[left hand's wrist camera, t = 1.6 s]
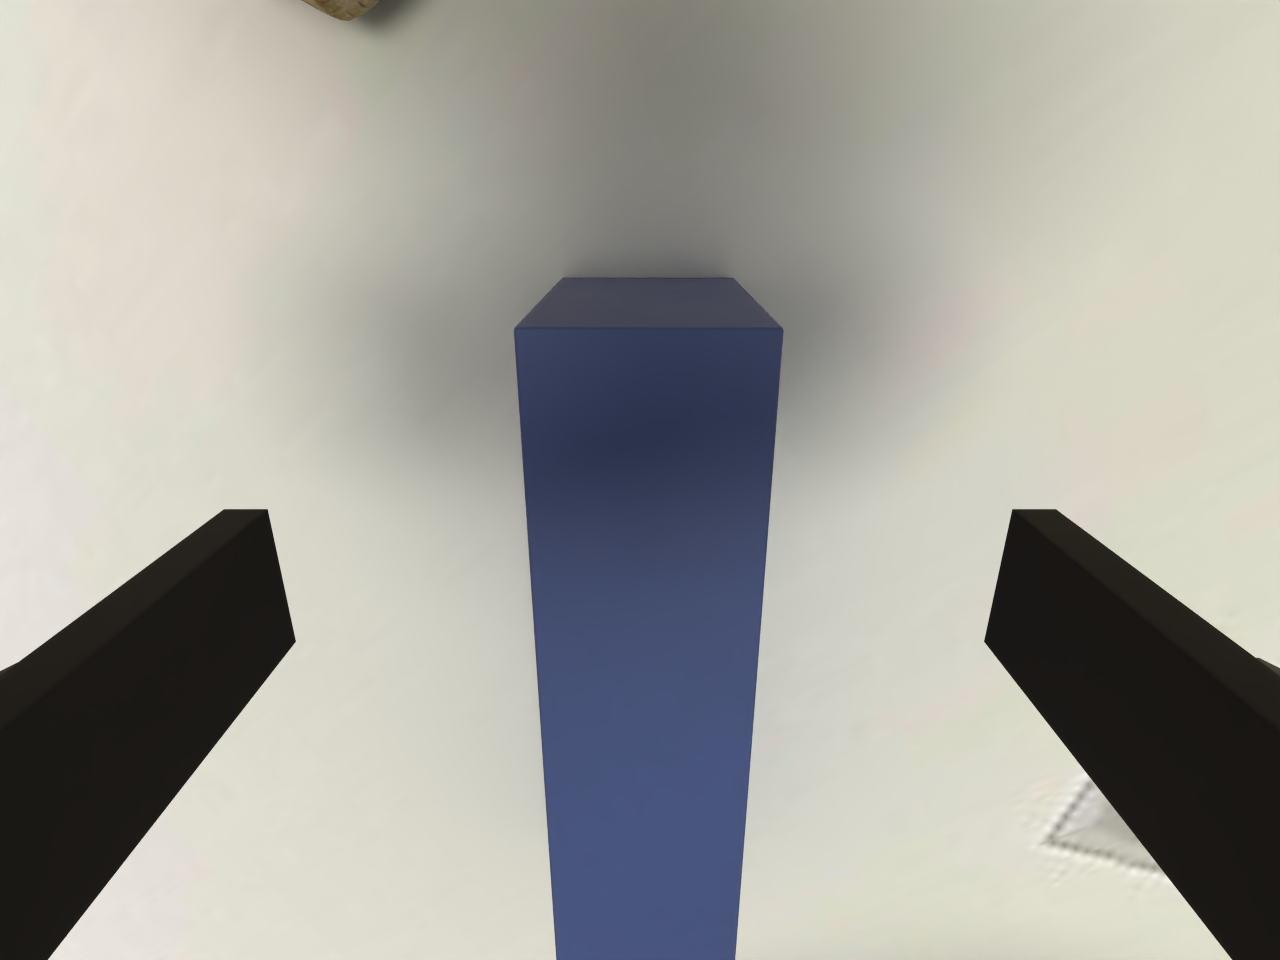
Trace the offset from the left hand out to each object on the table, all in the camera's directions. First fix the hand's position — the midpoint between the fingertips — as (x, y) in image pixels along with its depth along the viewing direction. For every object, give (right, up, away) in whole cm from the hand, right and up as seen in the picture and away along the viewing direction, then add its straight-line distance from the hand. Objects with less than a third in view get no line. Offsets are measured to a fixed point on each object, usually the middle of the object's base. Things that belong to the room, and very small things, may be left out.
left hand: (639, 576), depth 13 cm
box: (0, -4, +18) cm, 18 cm away
